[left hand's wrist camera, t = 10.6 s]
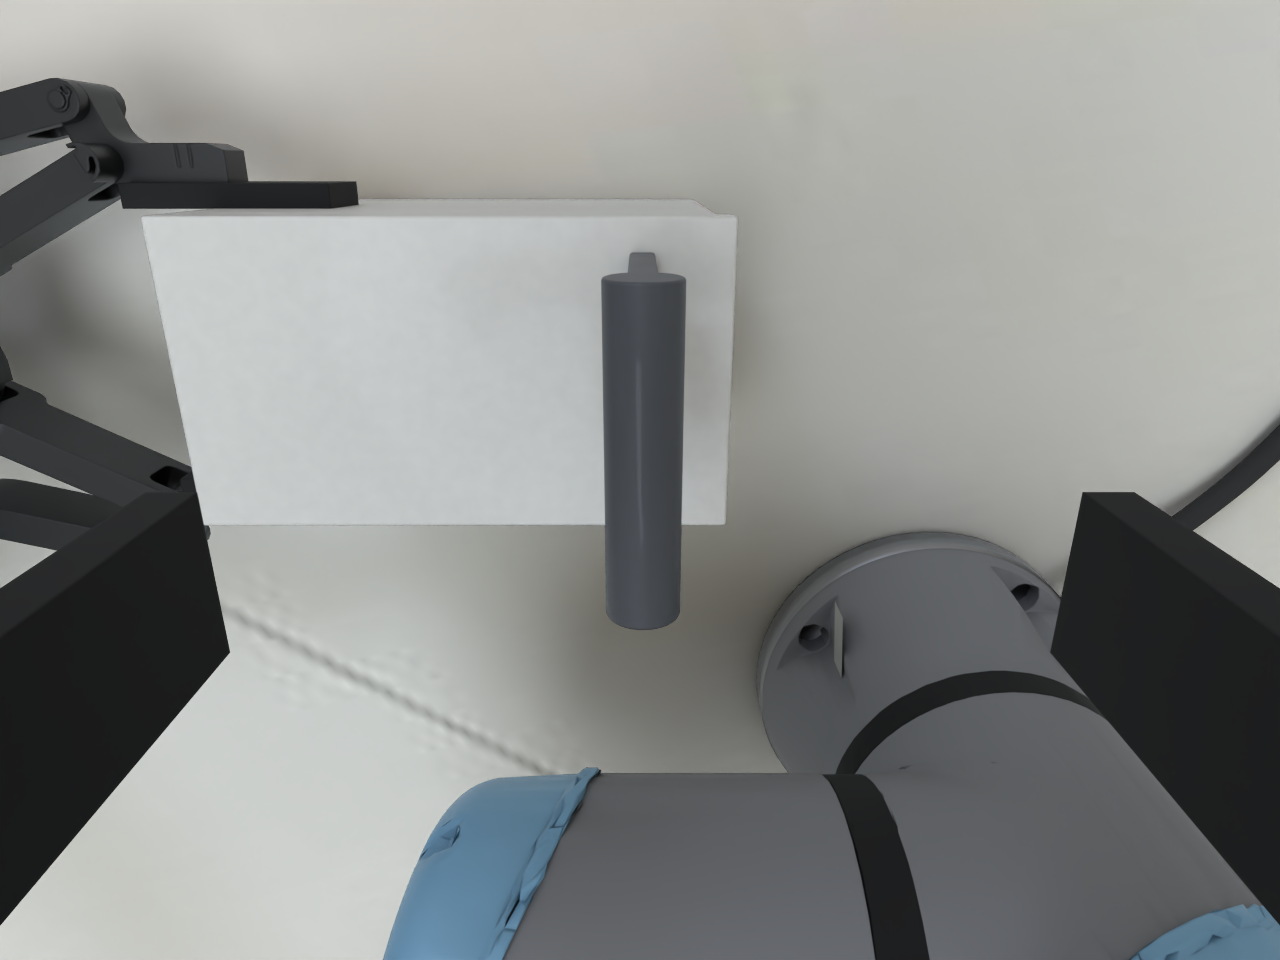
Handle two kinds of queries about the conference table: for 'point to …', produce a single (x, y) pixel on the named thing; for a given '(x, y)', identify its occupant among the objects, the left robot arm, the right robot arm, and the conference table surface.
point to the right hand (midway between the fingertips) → (361, 343)
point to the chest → (492, 207)
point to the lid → (459, 374)
